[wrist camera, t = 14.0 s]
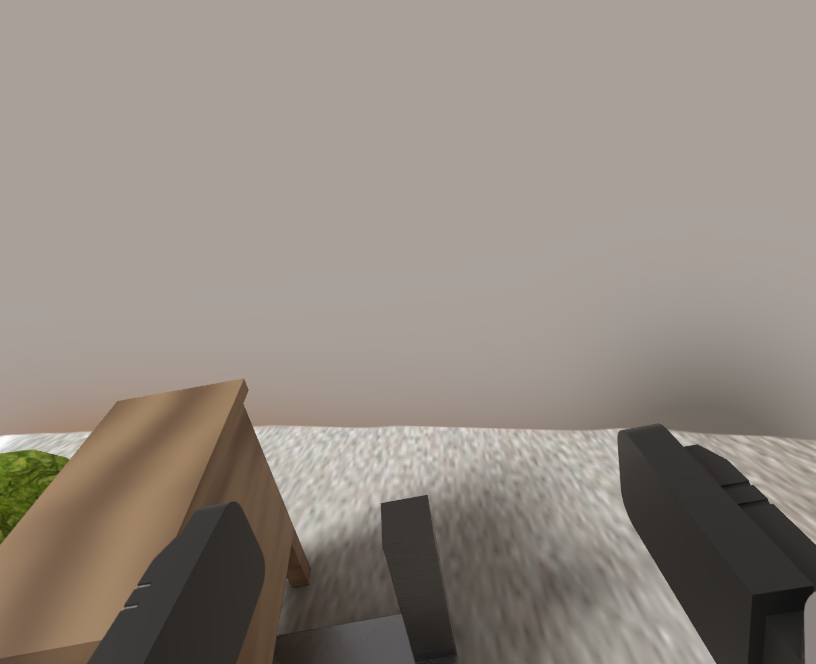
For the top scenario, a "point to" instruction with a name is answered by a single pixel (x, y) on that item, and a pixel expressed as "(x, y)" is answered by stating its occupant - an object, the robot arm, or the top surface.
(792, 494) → the top surface
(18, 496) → the lettuce
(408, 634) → the grey l-shaped bracket
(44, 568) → the walnut cabinet
